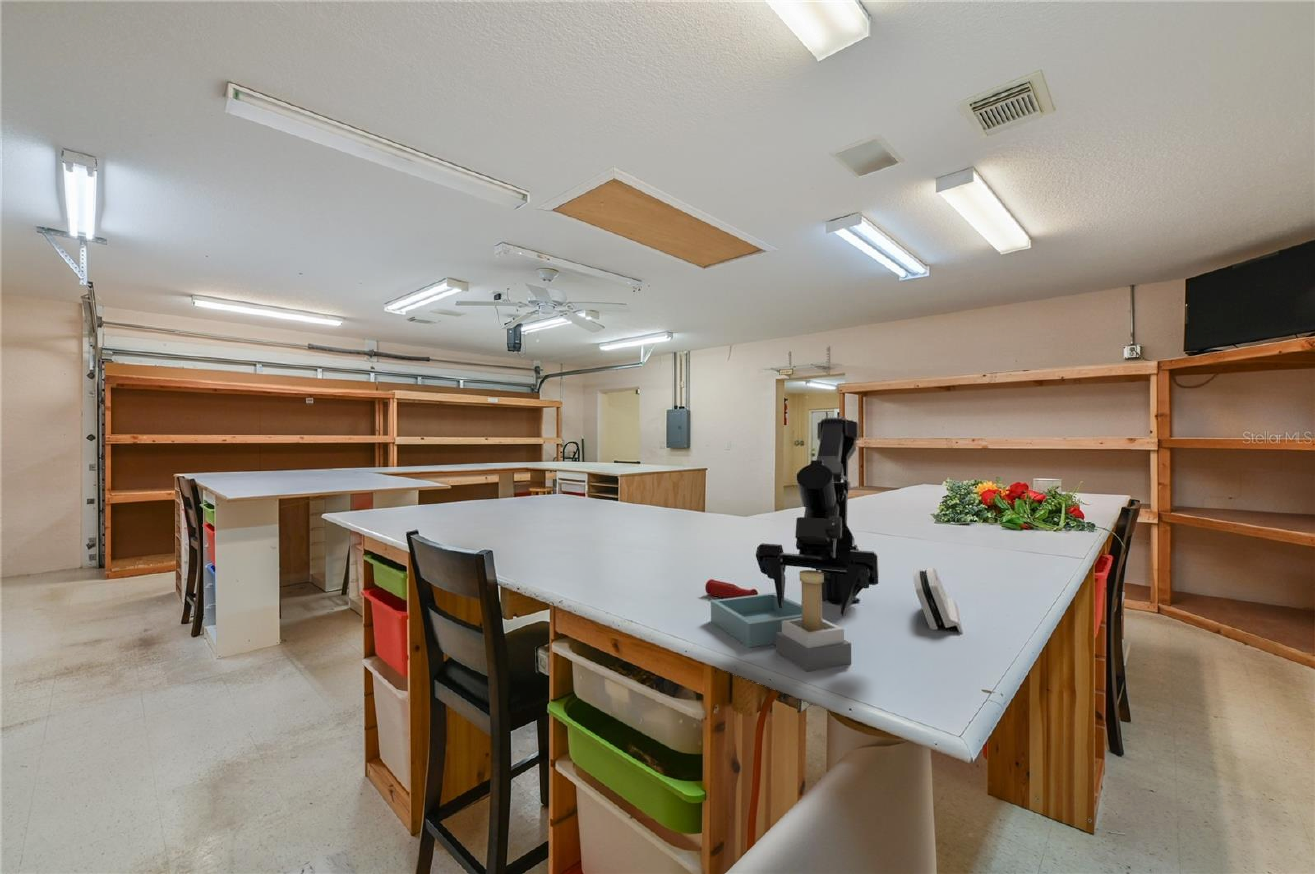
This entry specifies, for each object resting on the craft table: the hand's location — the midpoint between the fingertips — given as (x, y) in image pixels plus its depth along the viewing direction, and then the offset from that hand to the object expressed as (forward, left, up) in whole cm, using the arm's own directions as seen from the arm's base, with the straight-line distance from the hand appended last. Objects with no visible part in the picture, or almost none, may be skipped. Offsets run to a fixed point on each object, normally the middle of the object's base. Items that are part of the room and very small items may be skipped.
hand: (810, 610), depth 79 cm
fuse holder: (-1, -1, -8) cm, 8 cm away
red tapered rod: (-7, -27, -8) cm, 29 cm away
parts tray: (-1, -15, -8) cm, 17 cm away
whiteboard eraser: (-35, -8, -8) cm, 37 cm away
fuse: (-1, -1, -5) cm, 5 cm away
